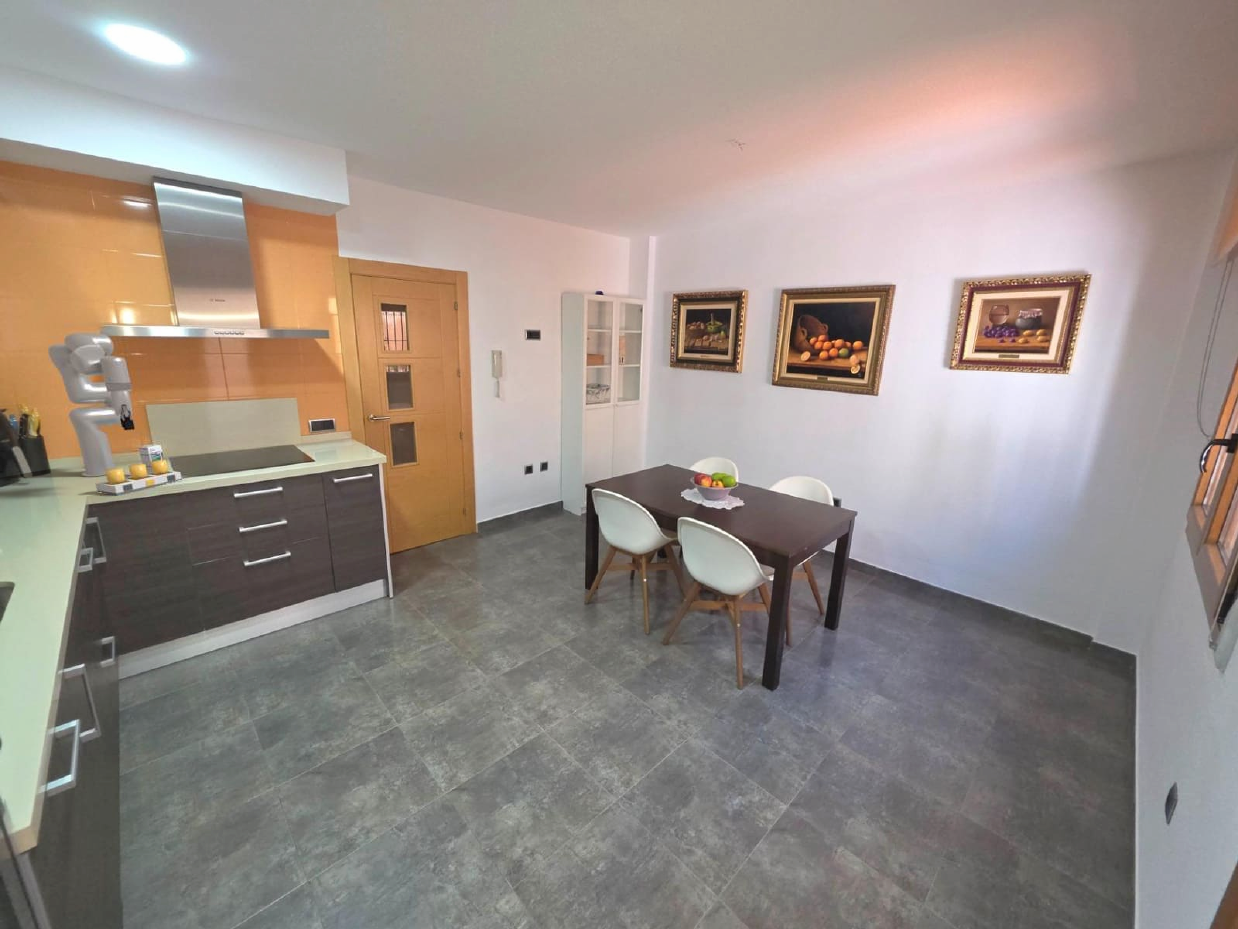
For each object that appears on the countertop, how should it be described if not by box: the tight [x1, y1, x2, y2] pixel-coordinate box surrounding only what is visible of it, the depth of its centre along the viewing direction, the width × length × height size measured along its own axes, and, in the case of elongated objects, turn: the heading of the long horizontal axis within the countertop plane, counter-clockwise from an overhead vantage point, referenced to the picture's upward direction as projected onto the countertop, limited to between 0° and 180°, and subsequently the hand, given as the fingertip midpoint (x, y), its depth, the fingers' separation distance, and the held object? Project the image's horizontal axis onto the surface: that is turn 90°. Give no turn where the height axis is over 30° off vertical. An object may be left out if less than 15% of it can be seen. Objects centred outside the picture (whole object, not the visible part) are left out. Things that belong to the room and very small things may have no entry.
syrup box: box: [137, 444, 165, 473], centre depth 230 cm, size 6×6×14 cm
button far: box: [150, 459, 169, 476], centre depth 221 cm, size 5×5×6 cm
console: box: [95, 470, 183, 497], centre depth 214 cm, size 12×24×4 cm, turn 164°
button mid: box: [128, 463, 148, 480], centre depth 213 cm, size 5×5×6 cm
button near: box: [105, 467, 126, 485], centre depth 206 cm, size 5×5×6 cm
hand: (128, 428), depth 207 cm, fingers open, 9 cm apart
